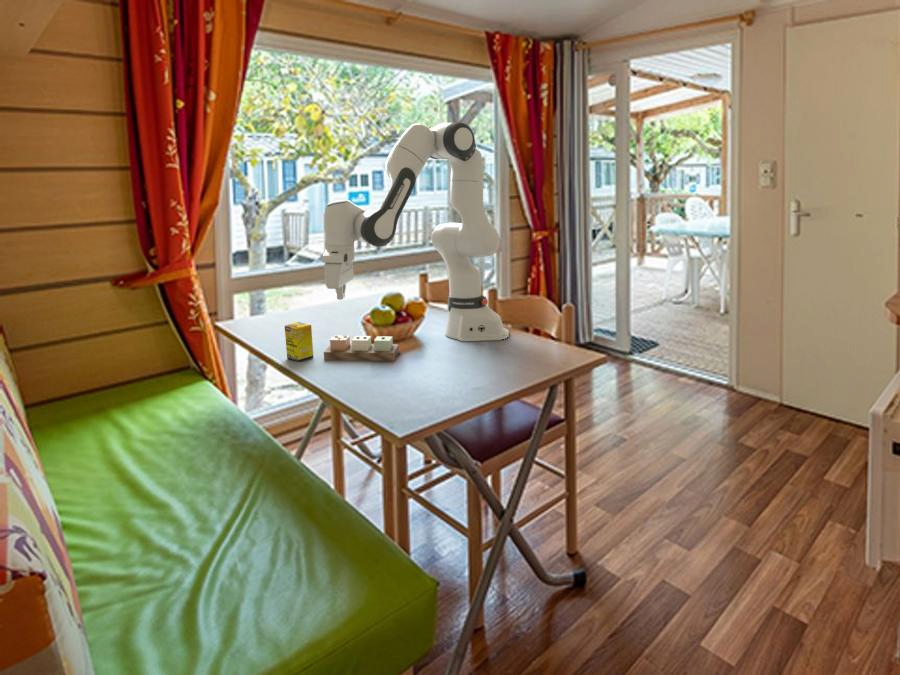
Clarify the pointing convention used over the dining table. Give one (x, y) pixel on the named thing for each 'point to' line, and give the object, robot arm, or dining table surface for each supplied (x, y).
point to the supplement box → (299, 341)
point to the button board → (362, 354)
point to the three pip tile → (340, 342)
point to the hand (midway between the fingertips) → (341, 298)
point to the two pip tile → (361, 343)
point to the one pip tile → (383, 343)
